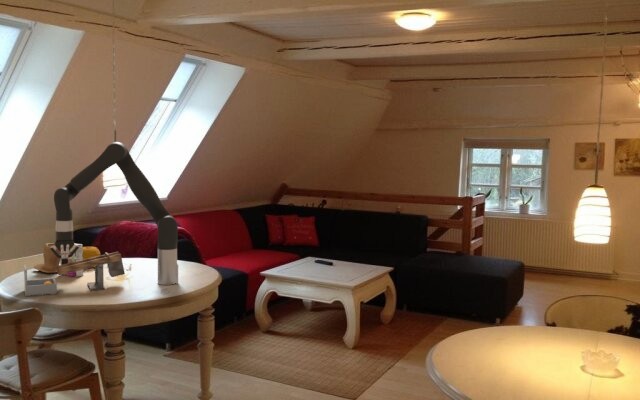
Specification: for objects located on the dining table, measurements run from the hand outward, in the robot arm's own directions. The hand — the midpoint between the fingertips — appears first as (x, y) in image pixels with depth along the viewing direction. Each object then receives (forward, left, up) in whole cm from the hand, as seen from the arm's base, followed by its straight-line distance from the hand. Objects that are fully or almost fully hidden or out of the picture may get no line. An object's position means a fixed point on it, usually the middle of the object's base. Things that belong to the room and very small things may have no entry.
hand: (64, 266), depth 276 cm
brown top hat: (+4, -37, -10) cm, 38 cm away
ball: (+8, +8, -7) cm, 13 cm away
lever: (-12, +5, -6) cm, 14 cm away
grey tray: (+11, +8, -10) cm, 17 cm away
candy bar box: (-5, -23, -10) cm, 26 cm away
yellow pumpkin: (-15, -41, -10) cm, 45 cm away
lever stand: (-13, +8, -10) cm, 18 cm away
